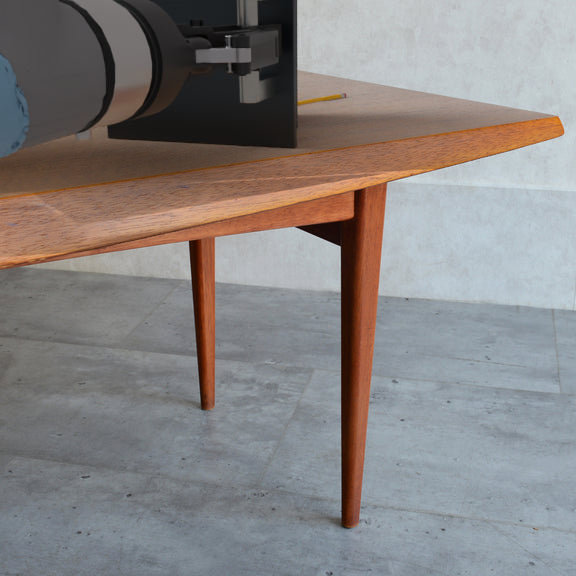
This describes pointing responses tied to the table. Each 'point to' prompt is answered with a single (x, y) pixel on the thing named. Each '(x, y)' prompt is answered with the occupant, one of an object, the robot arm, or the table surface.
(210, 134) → the door
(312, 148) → the table surface
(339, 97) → the pencil
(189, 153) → the table surface
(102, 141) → the table surface
